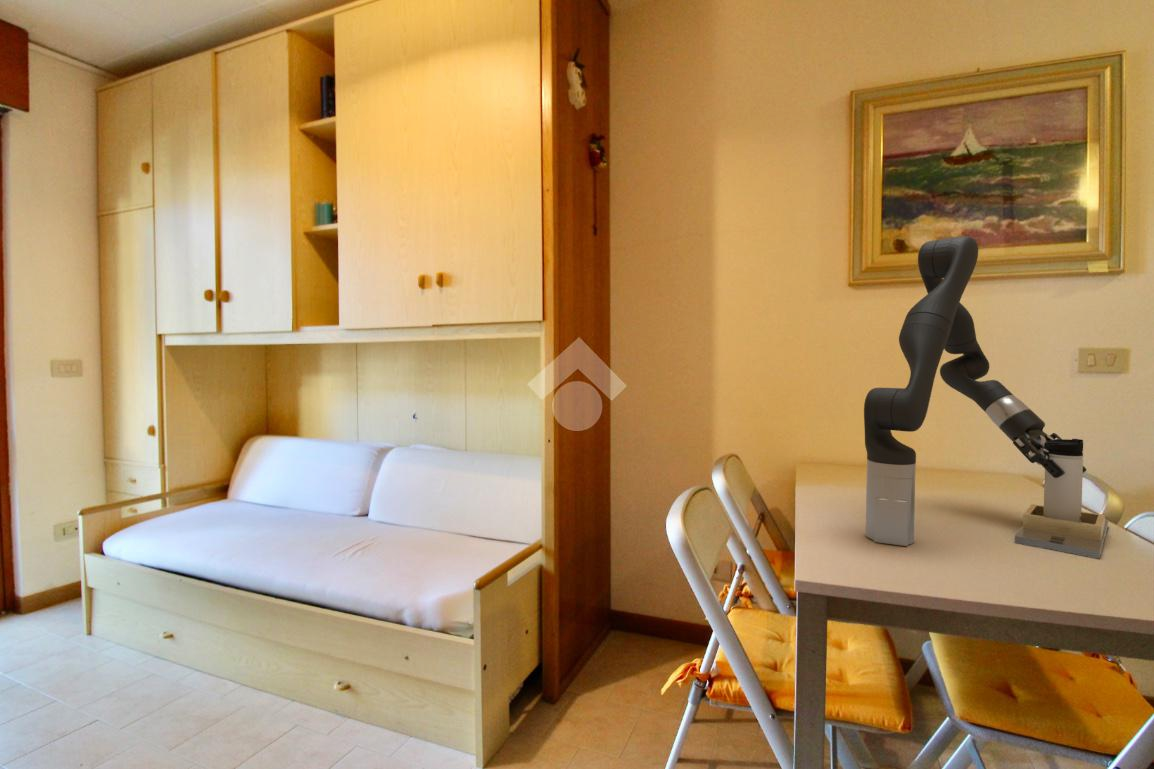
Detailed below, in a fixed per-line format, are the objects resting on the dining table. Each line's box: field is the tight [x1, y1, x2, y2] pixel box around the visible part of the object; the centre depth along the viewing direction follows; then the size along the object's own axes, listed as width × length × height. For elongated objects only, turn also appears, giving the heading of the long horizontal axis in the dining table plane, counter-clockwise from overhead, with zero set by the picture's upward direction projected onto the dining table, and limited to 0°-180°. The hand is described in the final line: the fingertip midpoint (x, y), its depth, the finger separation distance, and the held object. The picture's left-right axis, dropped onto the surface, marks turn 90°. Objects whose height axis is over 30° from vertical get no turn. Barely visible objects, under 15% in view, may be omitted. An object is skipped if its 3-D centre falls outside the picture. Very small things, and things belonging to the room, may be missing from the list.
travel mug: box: [1043, 438, 1084, 522], centre depth 118 cm, size 6×7×20 cm
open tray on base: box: [1014, 503, 1109, 560], centre depth 119 cm, size 30×13×4 cm, turn 133°
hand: (1071, 474), depth 117 cm, fingers open, 8 cm apart
